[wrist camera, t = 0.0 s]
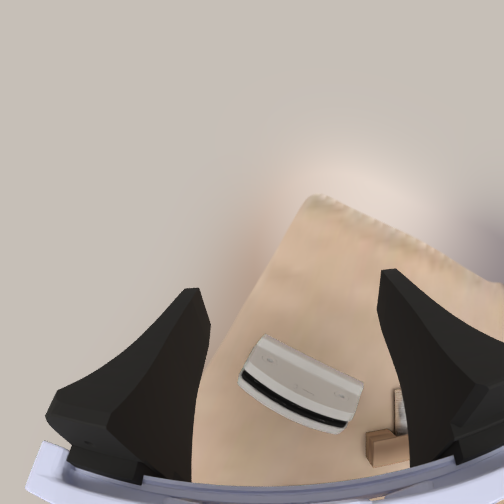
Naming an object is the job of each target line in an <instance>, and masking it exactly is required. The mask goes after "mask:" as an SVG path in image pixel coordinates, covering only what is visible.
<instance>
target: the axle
mask: <svg viewBox="0 0 504 504" xmlns="http://www.w3.org/2000/svg"><path fill="white" fill-rule="evenodd" d="M405 434H408V430H407V421H406V414H405V408H404V402H403V397H402V392H401V388H398V389H396V390H395V436H401V435H405Z"/></svg>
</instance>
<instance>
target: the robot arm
mask: <svg viewBox="0 0 504 504" xmlns="http://www.w3.org/2000/svg"><path fill="white" fill-rule="evenodd" d="M377 313H378V317H379V322H380V326H381V330H382V333H383V336H384V339H385V341H386V344H387V347H388V350H389V352H390V355H391V358H392V361H393V364H394V366H395V369H396V372H397V375H398V379H399V382H400V387H401V392H402V397H403V402H404V408H405V414H406V421H407V430H408V440H409V455H410V468H408V469H404V470H400V471H396V472H391V473H387V474H382V475H377V476H372V477H366V478H360V479H354V480H347V481H340V482H332V483H323V484H312V485H298V486H272V487H251V486H225V485H211V484H200V483H192V482H191V458H192V436H193V424H194V414H195V405H196V398H197V393H198V388H199V384H200V380H201V376H202V372H203V368H204V364H205V359H206V355H207V351H208V347H209V339H210V327H211V324H210V321H209V317H208V314H207V311H206V308H205V305H204V302H203V299H202V296H201V292H200V289H199V288H187V289H184V290H183V291H182V292H181V293H180V294H179V295H178V297H177V298H176V299H175V300H174V301H173V302H172V303H171V305H170V306H169V307H168V308H167V309H166V310H165V311H164V312H163V313H162V315H161V316H160V317H159V318H158V319H157V320H156V321H155V322H154V323H153V324H152V325H151V326H150V327H149V328H148V329H147V330H146V331H145V332H144V333H143V334H142V335H141V336H140V337H139V338H138V339H137V340H136V341H135V342H134V343H133V344H131V345H130V346H129V347H128V348H127V349H126V350H124V351H123V352H122V353H121V354H119V355H118V356H117V357H115V358H114V359H112V360H111V361H109V362H108V363H107V364H105V365H104V366H102V367H101V368H100V369H98V370H96V371H94V372H93V373H91V374H89V375H88V376H86V377H84V378H82V379H80V380H79V381H76V382H74V383H72V384H70V385H68V386H66V387H64V388H62V389H59V390H58V391H57V392H56V394H55V396H54V398H53V400H52V402H51V405H50V407H49V409H48V411H47V413H46V415H45V417H46V420H47V422H48V423H49V425H50V426H51V427H52V428H53V429H54V430H55V431H56V432H57V433H59V434H60V435H61V436H62V437H63V438H65V439H66V440H67V441H68V442H69V443H70V444H71V445H72V447H71V449H70V451H69V450H67V449H65V448H63V447H61V446H58V445H56V444H53V443H50V442H47V441H43V442H42V445H41V447H40V449H39V452H38V454H37V457H36V459H35V462H34V464H33V467H32V470H31V472H30V475H29V478H28V481H27V483H26V486H25V489H26V490H27V491H29V492H31V493H33V494H34V495H36V496H38V497H40V498H42V499H43V500H46V501H47V502H49V503H51V504H495V503H497V502H499V501H501V500H503V499H504V342H501V341H499V340H496V339H494V338H492V337H490V336H488V335H486V334H484V333H482V332H480V331H478V330H477V329H475V328H473V327H471V326H469V325H468V324H466V323H465V322H463V321H461V320H460V319H458V318H457V317H455V316H454V315H452V314H451V313H449V312H448V311H447V310H445V309H444V308H443V307H441V306H440V305H439V304H437V303H436V302H435V301H434V300H432V299H431V298H430V297H429V296H427V295H426V294H425V293H424V292H423V291H421V290H420V289H419V288H418V287H417V286H416V285H414V284H413V283H412V282H411V281H410V280H409V279H408V278H406V277H405V276H404V275H403V274H402V273H401V272H399V271H398V270H397V269H396V268H395V269H387V270H381V278H380V287H379V296H378V304H377ZM381 496H385V498H384V499H382V500H376V501H370V500H369V499H371V498H377V497H381Z"/></svg>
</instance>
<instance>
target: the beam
mask: <svg viewBox="0 0 504 504" xmlns="http://www.w3.org/2000/svg"><path fill="white" fill-rule="evenodd" d="M366 457H367V459H368V460H369V462H370V464H371V465H372V467H373V468H376V467H381V466H386V465H391V464H395V463H400V462H404V461H408V460H410V455H409V440H408V434H405V435H401V436H395V435H394V434H393V433H392V432H391V431H389V430H388V429H384V430H378V431H373V432H367V433H366Z"/></svg>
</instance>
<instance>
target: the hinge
mask: <svg viewBox="0 0 504 504" xmlns="http://www.w3.org/2000/svg"><path fill="white" fill-rule="evenodd" d="M238 385H239V386H240V387H241V388H242V389H243V390H245V391H246V392H247V393H248V394H250V395H251V396H252V397H253V398H255V399H256V400H258V401H259V402H260V403H262V404H263V405H265V406H266V407H268V408H270V409H271V410H273V411H275V412H277V413H278V414H280V415H282V416H284V417H286V418H288V419H290V420H292V421H294V422H297V423H299V424H302V425H304V426H307V427H309V428H312V429H316V430H319V431H323V432H327V433H331V434H339V433H341V432H342V431H343V430H344V429H345V428H346V427H347V424H348V421H351V420H352V418H353V416H354V414H355V412H356V408H357V405H358V401H359V398H360V395H361V392H362V390H363V387H364V386H363V382H361V381H359V380H357V379H355V378H353V377H351V376H349V375H347V374H344V373H342V372H340V371H338V370H336V369H334V368H332V367H330V366H328V365H326V364H324V363H322V362H320V361H318V360H316V359H314V358H312V357H310V356H308V355H306V354H304V353H302V352H300V351H298V350H296V349H294V348H292V347H290V346H288V345H286V344H284V343H282V342H280V341H279V340H277V339H275V338H273V337H271V336H269V335H267V334H264V335H263V336H262V338H261V339H260V340H259V341H258V343H257V344H256V345H255V347H254V348H253V350H252V351H251V353H250V355H249V357H248V359H247V360H246V362H245V364H244V367H243V368H242V370H241V372H240V374H239V378H238Z"/></svg>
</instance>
